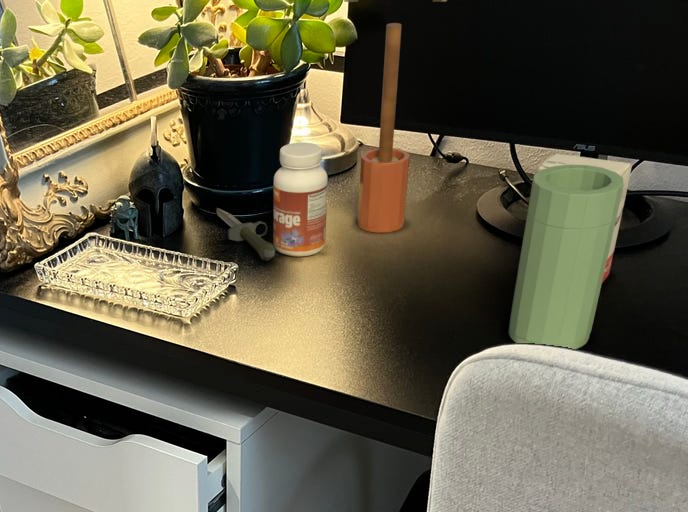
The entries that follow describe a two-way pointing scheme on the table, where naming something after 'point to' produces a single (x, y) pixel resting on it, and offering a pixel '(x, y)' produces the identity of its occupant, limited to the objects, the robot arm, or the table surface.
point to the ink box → (617, 167)
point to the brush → (389, 93)
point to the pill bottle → (300, 200)
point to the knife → (248, 234)
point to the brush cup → (383, 192)
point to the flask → (564, 254)
